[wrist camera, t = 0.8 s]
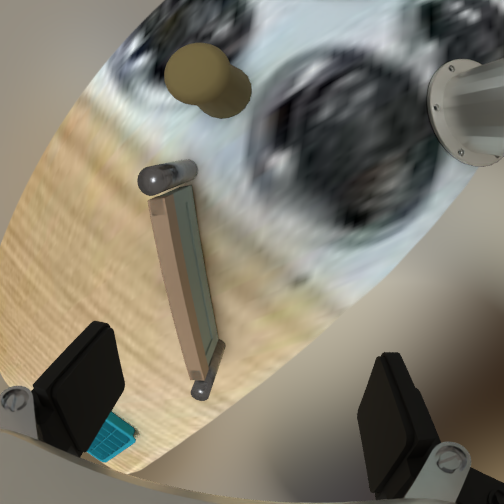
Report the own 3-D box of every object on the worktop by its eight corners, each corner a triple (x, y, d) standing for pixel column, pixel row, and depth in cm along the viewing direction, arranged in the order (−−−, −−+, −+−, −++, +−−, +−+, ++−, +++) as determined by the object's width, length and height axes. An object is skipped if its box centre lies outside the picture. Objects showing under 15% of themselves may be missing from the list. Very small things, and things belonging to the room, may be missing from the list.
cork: (249, 120, 31) (228, 108, 20) (193, 117, 31) (149, 108, 21) (254, 65, 29) (235, 31, 18) (197, 65, 29) (157, 36, 19)
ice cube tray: (143, 429, 50) (137, 440, 47) (108, 454, 57) (104, 463, 54) (92, 392, 49) (85, 403, 46) (68, 425, 55) (62, 433, 53)
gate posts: (196, 158, 33) (161, 164, 24) (227, 351, 40) (212, 401, 32) (175, 161, 33) (135, 169, 24) (210, 351, 41) (191, 400, 32)
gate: (179, 186, 33) (147, 200, 25) (193, 184, 33) (164, 197, 25) (207, 338, 39) (190, 379, 31) (220, 338, 39) (204, 380, 31)
